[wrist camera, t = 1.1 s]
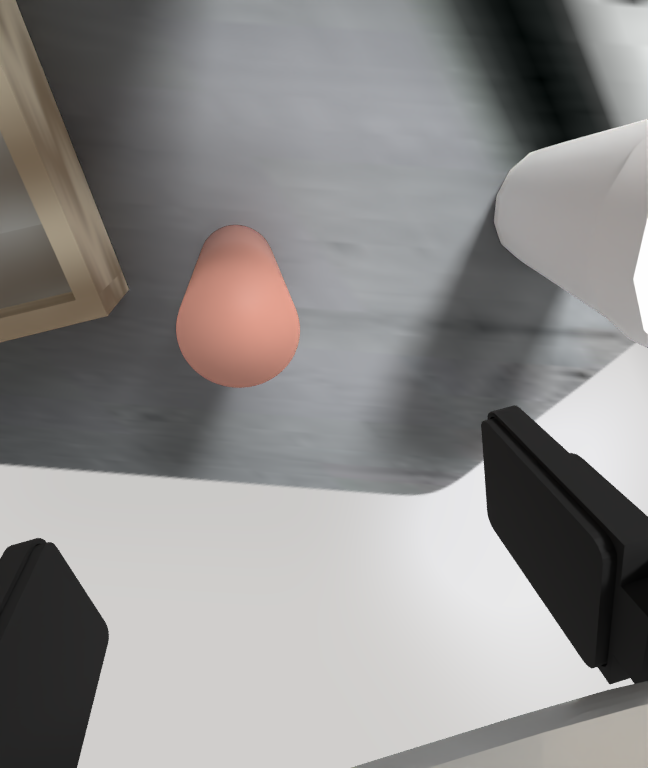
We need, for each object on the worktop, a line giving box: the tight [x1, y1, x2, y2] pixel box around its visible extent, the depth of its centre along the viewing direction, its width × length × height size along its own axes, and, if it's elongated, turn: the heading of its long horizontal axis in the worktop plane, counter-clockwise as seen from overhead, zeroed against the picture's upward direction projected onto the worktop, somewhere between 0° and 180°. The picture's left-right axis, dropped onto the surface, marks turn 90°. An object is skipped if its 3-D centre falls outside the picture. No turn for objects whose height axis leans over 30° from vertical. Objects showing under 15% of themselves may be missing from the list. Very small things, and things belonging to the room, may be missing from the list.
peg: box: [176, 225, 300, 388], centre depth 21 cm, size 4×4×12 cm
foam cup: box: [494, 119, 648, 348], centre depth 23 cm, size 10×9×13 cm
